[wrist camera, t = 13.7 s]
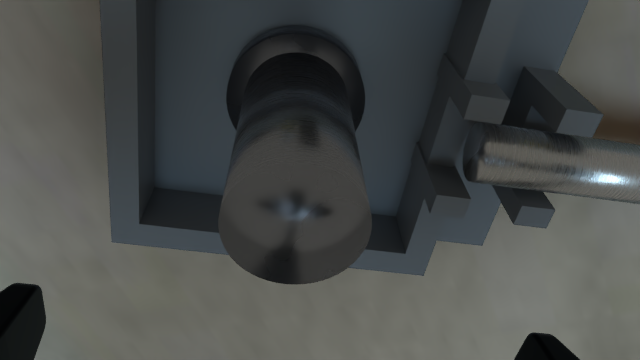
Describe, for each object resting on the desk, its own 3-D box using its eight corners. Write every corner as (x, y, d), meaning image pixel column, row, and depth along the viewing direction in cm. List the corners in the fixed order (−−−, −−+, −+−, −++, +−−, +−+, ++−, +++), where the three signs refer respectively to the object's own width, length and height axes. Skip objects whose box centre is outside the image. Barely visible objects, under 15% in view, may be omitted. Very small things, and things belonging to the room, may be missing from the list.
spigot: (348, 156, 21) (372, 309, 14) (224, 140, 20) (188, 291, 13) (375, 36, 18) (421, 153, 11) (235, 14, 18) (196, 123, 11)
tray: (478, 237, 24) (509, 305, 20) (133, 196, 22) (101, 264, 19) (597, -43, 18) (672, -14, 14) (126, -133, 16) (76, -125, 12)
